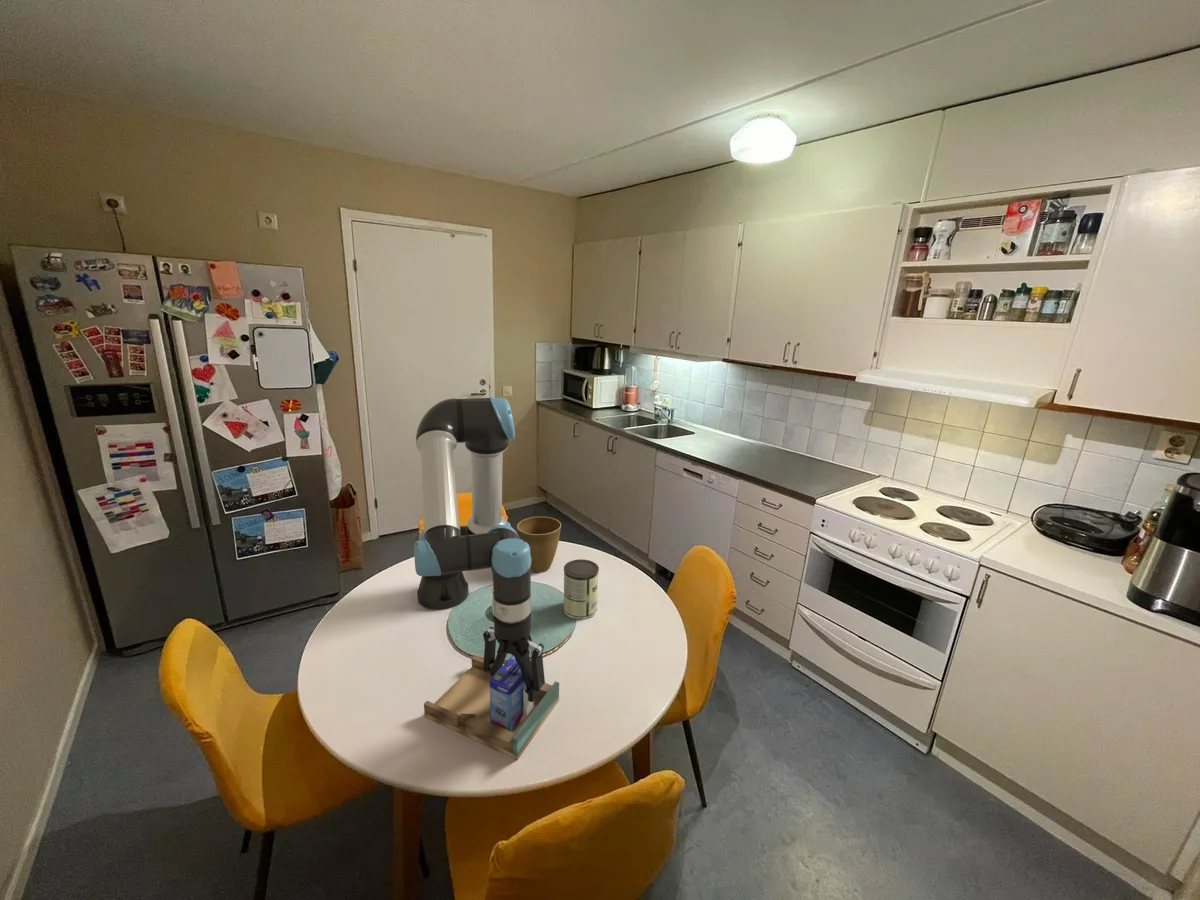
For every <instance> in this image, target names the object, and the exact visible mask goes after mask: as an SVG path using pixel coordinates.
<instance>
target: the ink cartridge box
mask: <svg viewBox="0 0 1200 900" xmlns="http://www.w3.org/2000/svg"><path fill="white" fill-rule="evenodd" d="M530 660H531V657H530ZM525 687H526V685H525V682H524V679H523V676H522V673H521V669H520V666H519V663H518V662H516V660H515V657H514V656H513V655H512V654H511V656H510V657H509V659H507V660H506V662H504V663H503V666H502V668H500V669H499V670H498V671H497V672H496V673H495V674H494V675H493V676H492V678H491V679H490V723H492V724H495V725H497V726H499V727H501V728H504V729H506V730H508V731H510V732H512V731H513V730H514V728H515V727H516V726H517V725H518V723H519V722H520V721H521V720H522V718H523V717H524V716H525V715H524V706H523V689H524V688H525Z"/></svg>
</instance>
